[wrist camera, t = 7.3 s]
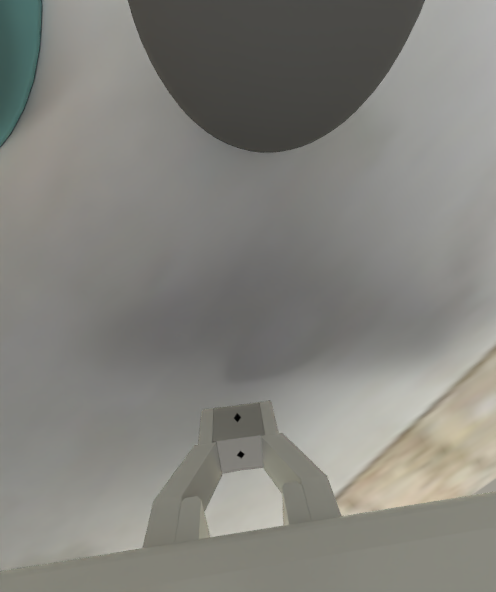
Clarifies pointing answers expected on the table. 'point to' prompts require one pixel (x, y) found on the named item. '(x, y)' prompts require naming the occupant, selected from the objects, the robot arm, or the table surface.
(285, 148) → the black ball
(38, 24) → the teal flat disc
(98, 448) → the table surface
